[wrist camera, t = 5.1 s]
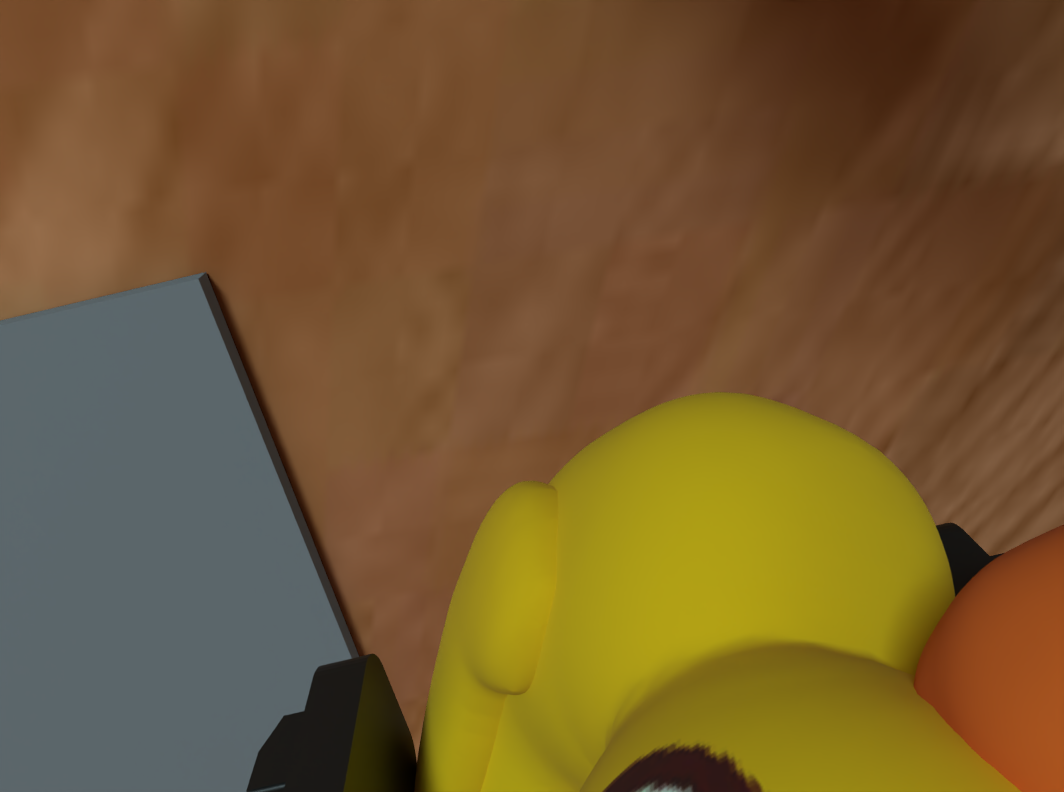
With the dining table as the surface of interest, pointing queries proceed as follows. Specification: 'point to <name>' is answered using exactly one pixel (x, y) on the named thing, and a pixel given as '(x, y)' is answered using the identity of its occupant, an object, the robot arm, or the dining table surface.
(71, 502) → the mat
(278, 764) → the robot arm
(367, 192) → the dining table surface
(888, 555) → the duckling
